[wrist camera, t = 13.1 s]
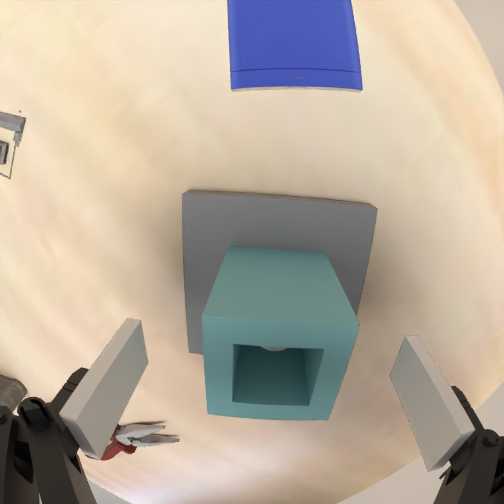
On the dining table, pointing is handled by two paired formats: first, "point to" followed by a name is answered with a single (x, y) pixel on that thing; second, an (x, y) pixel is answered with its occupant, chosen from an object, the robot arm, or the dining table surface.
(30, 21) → the dining table surface
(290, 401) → the block with square hole
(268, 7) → the hard drive
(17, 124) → the grey rectangular frame
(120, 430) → the pliers
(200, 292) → the pin base
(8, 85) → the dining table surface
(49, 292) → the dining table surface
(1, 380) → the flask
